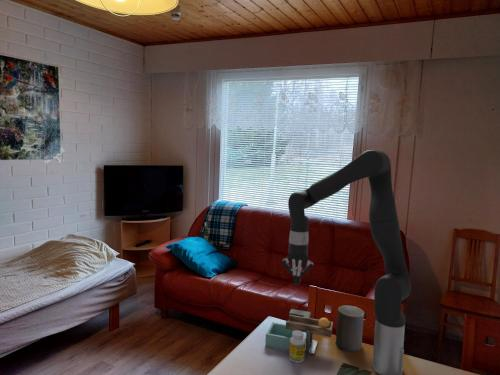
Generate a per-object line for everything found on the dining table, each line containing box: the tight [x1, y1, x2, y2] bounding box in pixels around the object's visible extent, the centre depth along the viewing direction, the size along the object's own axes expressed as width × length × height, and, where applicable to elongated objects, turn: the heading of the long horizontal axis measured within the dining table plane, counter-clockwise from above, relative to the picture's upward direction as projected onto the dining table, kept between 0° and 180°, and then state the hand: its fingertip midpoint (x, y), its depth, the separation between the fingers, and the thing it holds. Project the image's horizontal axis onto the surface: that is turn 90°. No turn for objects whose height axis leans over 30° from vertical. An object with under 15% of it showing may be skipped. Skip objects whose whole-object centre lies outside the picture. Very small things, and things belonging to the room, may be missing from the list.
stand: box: [304, 329, 318, 357], centre depth 136 cm, size 5×9×9 cm, turn 162°
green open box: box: [264, 322, 294, 353], centre depth 139 cm, size 10×10×5 cm
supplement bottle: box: [288, 330, 306, 364], centre depth 129 cm, size 5×5×10 cm
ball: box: [318, 317, 330, 328], centre depth 134 cm, size 4×4×4 cm
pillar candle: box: [334, 304, 365, 352], centre depth 139 cm, size 10×10×15 cm
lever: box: [285, 308, 334, 338], centre depth 140 cm, size 18×15×3 cm
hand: (296, 284), depth 146 cm, fingers closed
